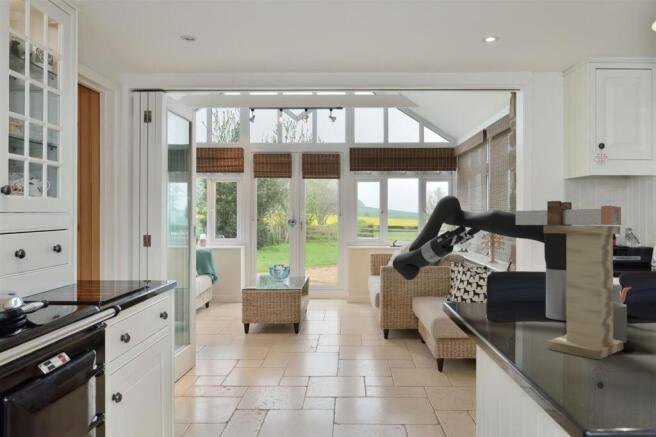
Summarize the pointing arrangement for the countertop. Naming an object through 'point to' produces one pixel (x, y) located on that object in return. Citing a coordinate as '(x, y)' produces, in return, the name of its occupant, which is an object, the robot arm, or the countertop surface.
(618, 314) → the coffee mug
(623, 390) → the countertop surface
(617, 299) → the salt shaker
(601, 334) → the shelf stand
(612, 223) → the bar
